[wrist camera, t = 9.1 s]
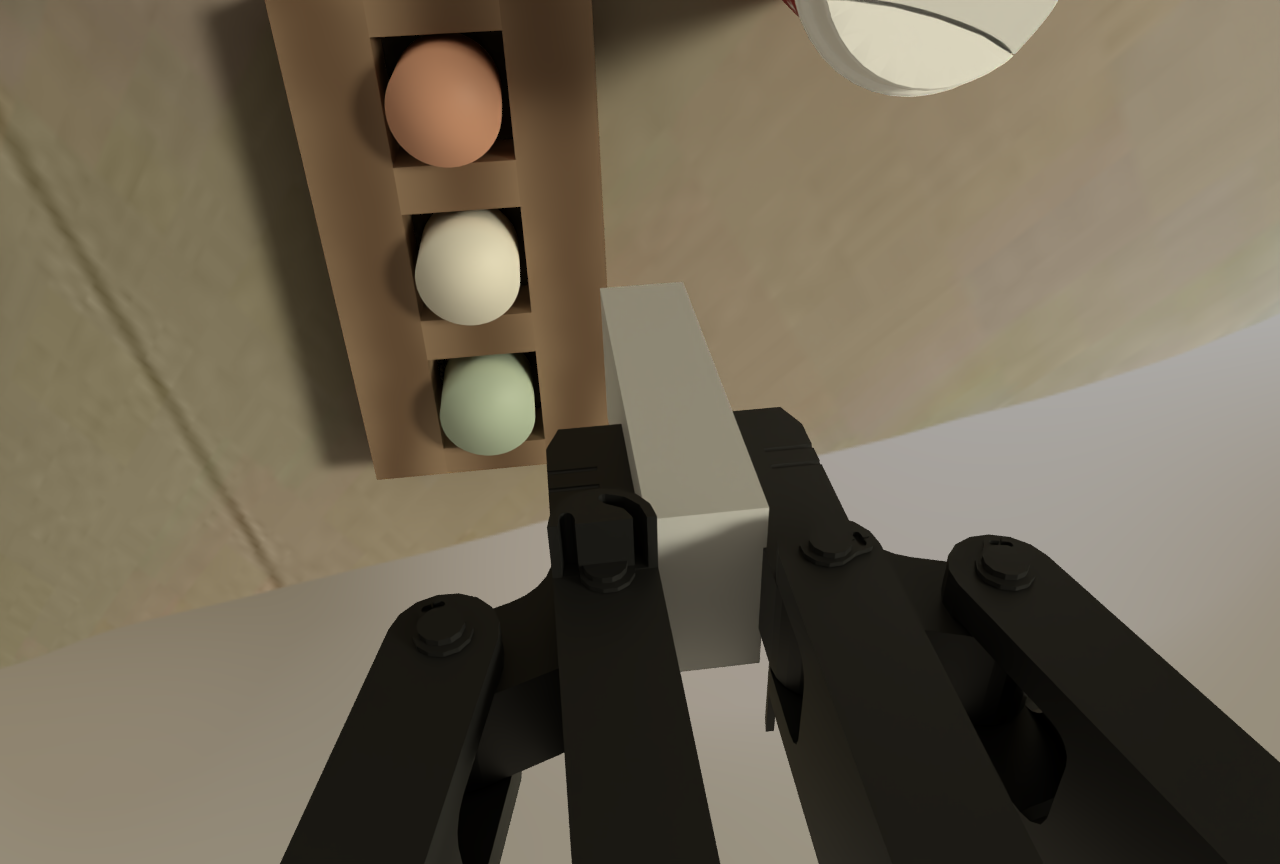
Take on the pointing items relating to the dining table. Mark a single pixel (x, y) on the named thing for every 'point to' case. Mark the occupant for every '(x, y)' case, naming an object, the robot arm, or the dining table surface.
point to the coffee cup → (918, 39)
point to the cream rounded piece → (468, 265)
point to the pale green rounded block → (488, 402)
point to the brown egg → (445, 100)
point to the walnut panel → (402, 185)
